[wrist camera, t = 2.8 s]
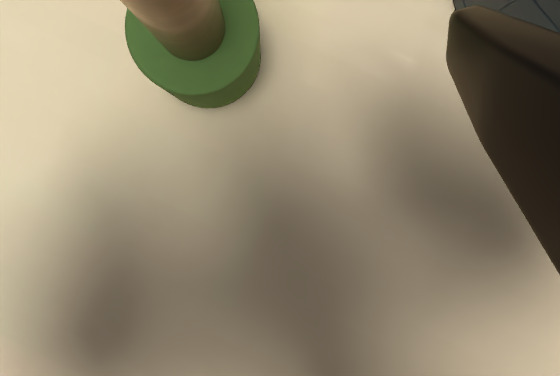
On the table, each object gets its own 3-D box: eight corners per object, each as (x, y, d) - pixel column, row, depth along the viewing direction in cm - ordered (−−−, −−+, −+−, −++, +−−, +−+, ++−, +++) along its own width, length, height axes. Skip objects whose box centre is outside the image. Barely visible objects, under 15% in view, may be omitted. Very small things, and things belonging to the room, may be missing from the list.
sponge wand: (282, 47, 18) (316, -186, 6) (217, 129, 18) (114, 75, 6) (198, -21, 18) (49, -412, 6) (133, 63, 18) (-154, -136, 6)
